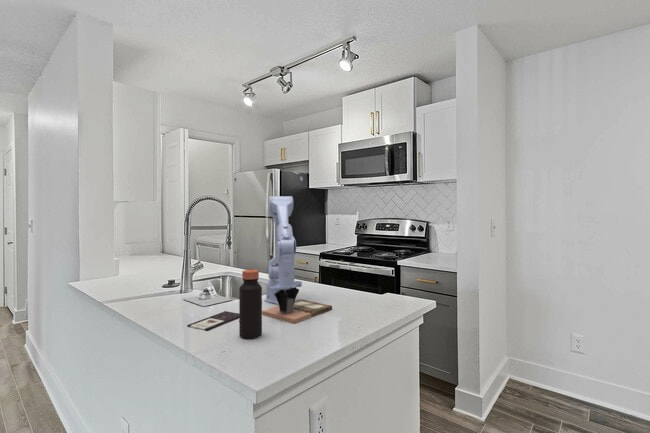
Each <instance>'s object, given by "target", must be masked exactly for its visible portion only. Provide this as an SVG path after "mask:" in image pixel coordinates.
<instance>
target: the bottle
mask: <svg viewBox="0 0 650 433" xmlns="http://www.w3.org/2000/svg"><path fill="white" fill-rule="evenodd" d="M259 272H260V271H259V270H258V269H246V270H242V281H243V283H242V284H241V285H240V287H239V288H238V289H239V293H238V294H239V298H238V300H239V301H238V302H239V305H238V306H239V308H238V309H239V313H238V314H239V318H238V319H239V321H238V322H239V324H238V325H239V329H238V330H239V333H238V334H239V337H240V338H241V339H244V340H254V339H258V338H259V337H261V336H262V333H263V315H262V311H263V286H262V285H261V284H260V283H259V281H258V280H259V279H260V276H259V274H260V273H259Z"/></svg>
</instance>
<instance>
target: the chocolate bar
mask: <svg viewBox="0 0 650 433" xmlns="http://www.w3.org/2000/svg"><path fill="white" fill-rule="evenodd" d="M238 319H239V313H237V312H232V311H227V310H224V311H222V312H219V313H217V314H213V315H211V316H209V317H205V318H204V319H200V320H198V321H195V322H191V323H189V324H187V325H186V326H187V328H192V329H196V330H200V331H205V332H209V331H212V330H214V329H216V328H219V327H221V326H224V325H225V324H226V325H227V324H228V323H231V322H233V321H236V320H238Z"/></svg>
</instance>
